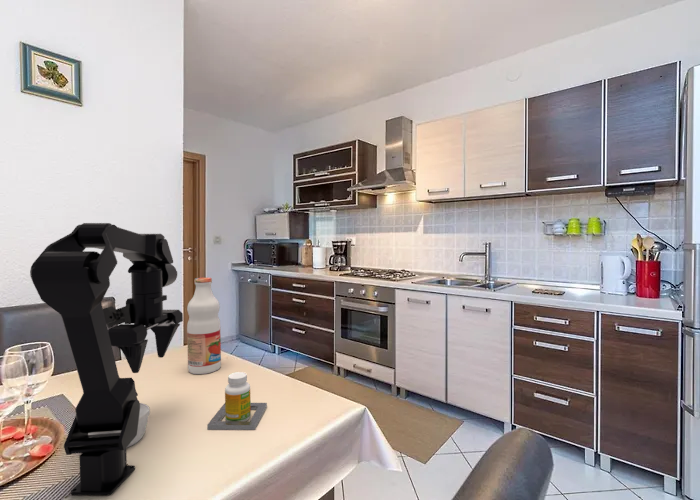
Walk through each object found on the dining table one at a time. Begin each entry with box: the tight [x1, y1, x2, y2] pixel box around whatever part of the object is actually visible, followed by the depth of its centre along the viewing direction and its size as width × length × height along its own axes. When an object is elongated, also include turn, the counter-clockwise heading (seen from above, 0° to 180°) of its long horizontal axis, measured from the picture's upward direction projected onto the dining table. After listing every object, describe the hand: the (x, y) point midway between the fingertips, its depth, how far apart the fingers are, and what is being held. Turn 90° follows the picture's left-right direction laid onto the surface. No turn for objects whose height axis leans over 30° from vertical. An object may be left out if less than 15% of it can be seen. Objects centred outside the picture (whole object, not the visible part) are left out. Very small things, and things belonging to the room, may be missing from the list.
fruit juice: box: [186, 277, 222, 375], centre depth 108 cm, size 9×9×28 cm
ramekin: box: [88, 402, 151, 448], centre depth 70 cm, size 11×11×5 cm
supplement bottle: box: [224, 371, 252, 421], centre depth 78 cm, size 5×5×10 cm
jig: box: [206, 402, 268, 431], centre depth 79 cm, size 10×10×1 cm
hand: (149, 364), depth 76 cm, fingers open, 9 cm apart
